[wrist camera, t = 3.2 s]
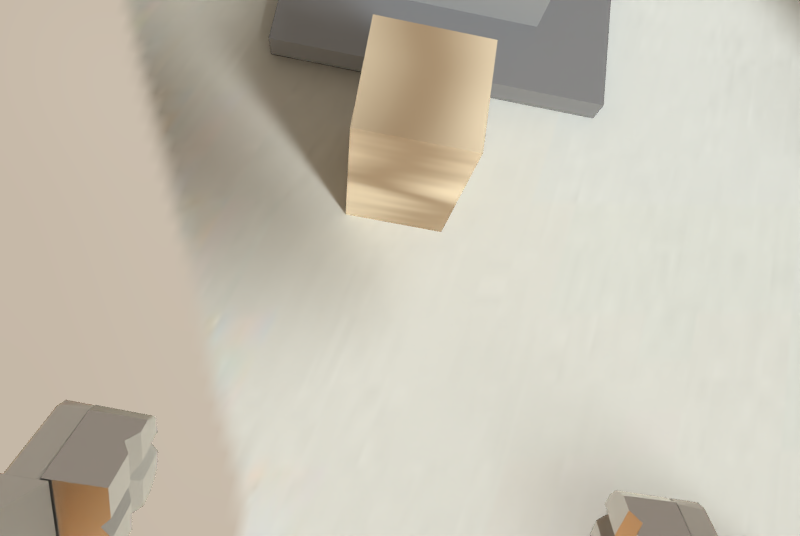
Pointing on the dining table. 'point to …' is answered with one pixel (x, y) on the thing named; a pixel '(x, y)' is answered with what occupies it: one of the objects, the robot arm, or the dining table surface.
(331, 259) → the dining table surface
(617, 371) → the dining table surface
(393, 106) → the wooden block
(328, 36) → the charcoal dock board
